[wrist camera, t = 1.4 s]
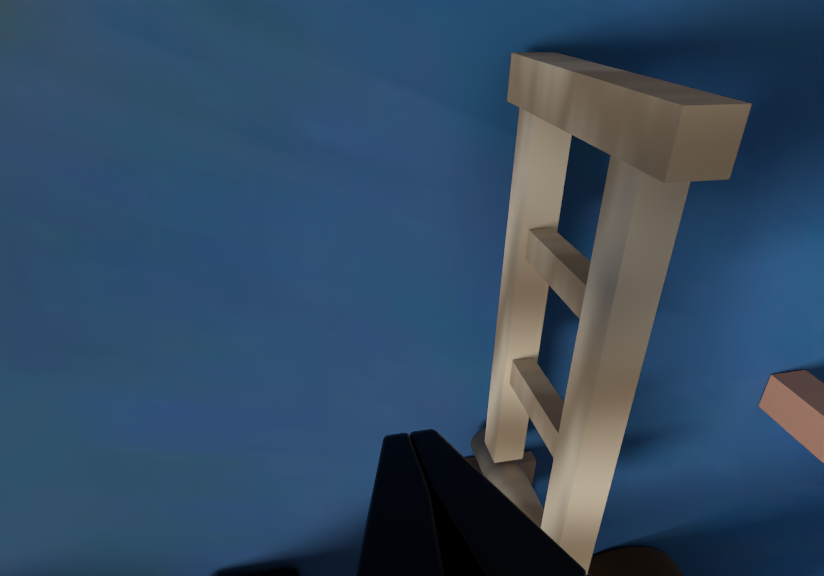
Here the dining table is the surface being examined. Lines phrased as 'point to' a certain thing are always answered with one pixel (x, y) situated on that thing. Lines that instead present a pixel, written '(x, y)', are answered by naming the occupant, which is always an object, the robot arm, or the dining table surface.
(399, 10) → the dining table surface
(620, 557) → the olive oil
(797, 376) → the post
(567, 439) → the gate
